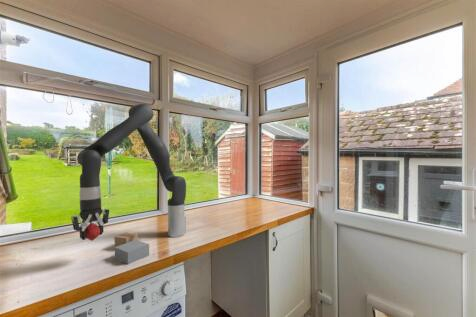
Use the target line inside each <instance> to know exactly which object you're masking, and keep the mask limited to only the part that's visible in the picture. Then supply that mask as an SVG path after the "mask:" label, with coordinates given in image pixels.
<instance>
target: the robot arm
mask: <svg viewBox="0 0 476 317" xmlns="http://www.w3.org/2000/svg"><path fill="white" fill-rule="evenodd" d="M153 117H154V110H153V108H152V106H150V105H148V104H146V103H139V104H136V105H132V106H131V107H130V108H129V110H128V117H127V118H126V119H125V120H123V121H122V122H120V123H118V124H117V125H115V126H114V127H112V128H111V129H109V130H108V131H106V132H105V133H104V134H103V135H102V136H100V137H99V138H98V139H97V140H96V141H95V142H93V143H91V144H90V145H88V146H87V147H85V148H84V149H82V150H81V151H80V152H79V153H78V154H77V157H76V161H77V163H78V164H79V166H80V165H81V174H80V176H79V211H80V212H79V214H77V215H72V216H71V223H72V228H73V230H74V231H76V232H79V239H80V240H82V241H84V240H86V239H87V238H86V231H85V228H86V227H87V226H88V225H89V224H90V222H92V223H93V222H96V224H97V226H98V227H99V228H100V234H99V236H101V235H103V233H104V225H105V224H108V222H109V214H110V209H109V208H105V209H102V191H101V179H100V173H101V169H102V168H101V167H102V158H103V156H104V155H106V154H108V153H111V151H113V150H114V149H115V148H116V147H117V146H119V145H120V144H121V143H122V142H123V141H124V140H125V139H126V138H127V137H129V136H130V135H131V134H132V133H134V132H135V131H136V130H137V132H138V134H139V136H140V138H141V139H142V142H143V144H144V146H145V148H146V150H147V152H148V153H149V156H150V157H151V160H152V161H153V162H154V165H155V167H156V169H157V171H158V174H159V175H160V177H161V180H162V184H163V186H164V188H165V189H166V190H167V192H169V193H170V192H171V197H170V198H168V200H167V236H168V237H170V238H179V237H183V236H184V235H185V234H186V233H187V217H186V216H185V201H186V197H187V182H186V179H185V178H184V177H183V176H179V175H175V174H174V172H173V170H172V168H171V162H170V161H171V160H170V159H171V158H170V157H171V156H170V153H169V150H168V148H167V146H166V144H165V142H164V141H163V139H162V138H161V137H160V136H159V135H158V134H157V133H156V132H155V131H154V128H152V127H151V126H152V125H151V124H150V121H151V120H153ZM101 215H102V218H101ZM80 218H81V220H80ZM79 221H80V222H79Z"/></svg>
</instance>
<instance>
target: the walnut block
mask: <svg viewBox="0 0 476 317" xmlns="http://www.w3.org/2000/svg"><path fill="white" fill-rule="evenodd" d="M134 240H138V233H137V232H129V231H128V232H127V231H125V232H123V233H120V234H118V235H115V236H114V248H115V247H117V246H120V245H123V244H125V243H128V242H131V241H134Z"/></svg>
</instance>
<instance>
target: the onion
mask: <svg viewBox="0 0 476 317" xmlns="http://www.w3.org/2000/svg"><path fill="white" fill-rule="evenodd" d="M98 226H99V225H98V224H97V223H95V222H93V221H92V222H89V223H88V225H87V226H86V228H85V231H86V239H88V240H89V241H91V242H92V241H94V240H95V239H97V238H98V237H99V236H100V235H99V234H100V228H99V227H98Z"/></svg>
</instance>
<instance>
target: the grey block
mask: <svg viewBox="0 0 476 317" xmlns="http://www.w3.org/2000/svg"><path fill="white" fill-rule="evenodd" d="M148 256H150V244H149V243H147V242H143V241H141V240H138V239H137V240H134V241H131V242H128V243H125V244H123V245H120V246H117V247H115V246H114V259H115V260H116V261H120V262H121V263H124V264H126V265H130V264H132V263H134V262H137V261H139V260H141V259H143V258H146V257H148Z"/></svg>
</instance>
